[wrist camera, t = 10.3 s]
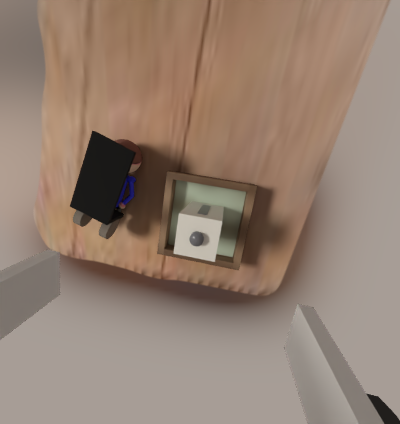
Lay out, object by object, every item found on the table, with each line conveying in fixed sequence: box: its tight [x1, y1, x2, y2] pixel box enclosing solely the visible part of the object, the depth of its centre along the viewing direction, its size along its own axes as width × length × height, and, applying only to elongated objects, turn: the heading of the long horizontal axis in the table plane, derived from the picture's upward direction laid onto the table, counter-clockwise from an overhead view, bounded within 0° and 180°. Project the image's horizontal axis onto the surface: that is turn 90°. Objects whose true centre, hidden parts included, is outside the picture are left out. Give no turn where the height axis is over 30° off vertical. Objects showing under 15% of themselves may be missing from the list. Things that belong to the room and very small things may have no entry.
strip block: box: [173, 201, 224, 262], centre depth 28 cm, size 5×5×10 cm
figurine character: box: [70, 131, 142, 239], centre depth 31 cm, size 7×8×15 cm
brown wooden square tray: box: [157, 171, 257, 270], centre depth 32 cm, size 13×13×3 cm
